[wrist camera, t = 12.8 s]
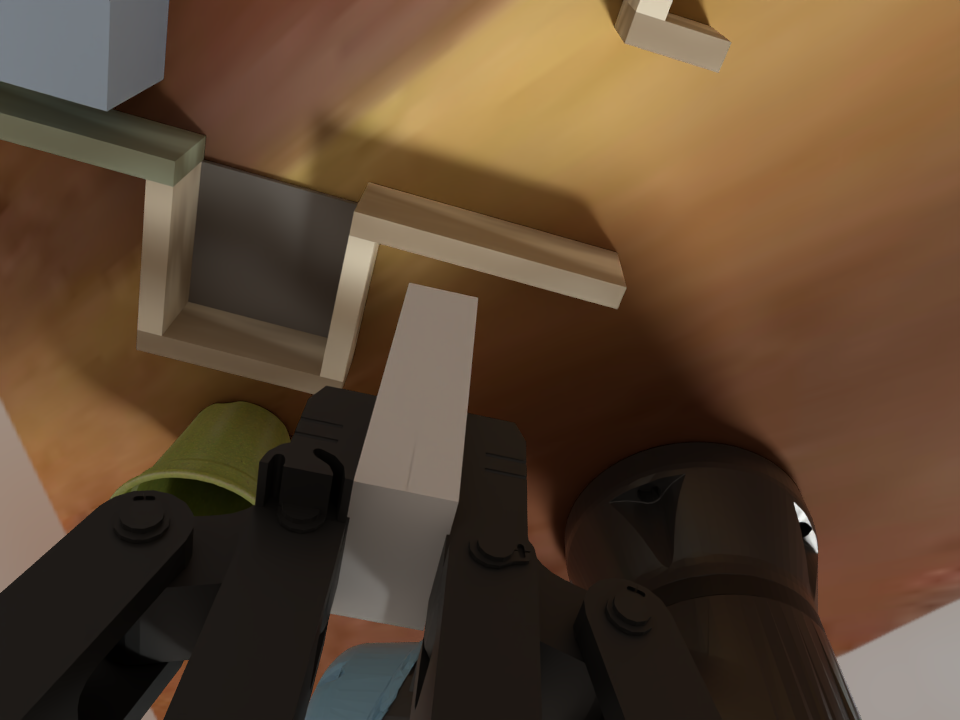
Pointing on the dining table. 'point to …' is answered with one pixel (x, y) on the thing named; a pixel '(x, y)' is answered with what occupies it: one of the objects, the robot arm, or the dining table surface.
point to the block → (84, 48)
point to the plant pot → (215, 459)
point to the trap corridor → (305, 233)
